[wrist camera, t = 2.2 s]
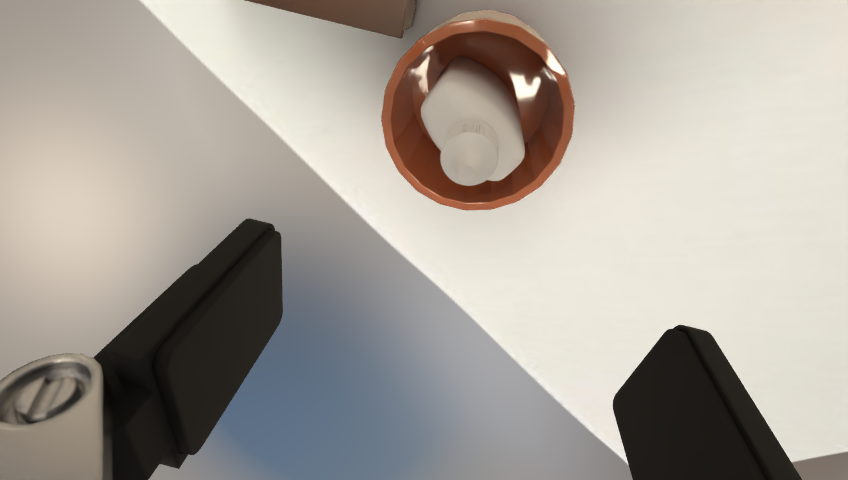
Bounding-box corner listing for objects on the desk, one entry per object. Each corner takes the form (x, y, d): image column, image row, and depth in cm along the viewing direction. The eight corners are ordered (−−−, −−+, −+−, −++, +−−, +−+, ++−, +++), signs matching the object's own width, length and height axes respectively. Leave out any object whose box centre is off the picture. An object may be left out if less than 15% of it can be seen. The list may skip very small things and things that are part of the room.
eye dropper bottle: (459, 147, 27) (437, 244, 17) (432, 64, 24) (387, 122, 14) (523, 128, 26) (539, 221, 16) (501, 38, 23) (503, 81, 13)
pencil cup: (421, -8, 23) (397, -4, 17) (583, 32, 22) (610, 47, 17) (396, 147, 28) (371, 187, 23) (526, 180, 28) (532, 228, 22)
